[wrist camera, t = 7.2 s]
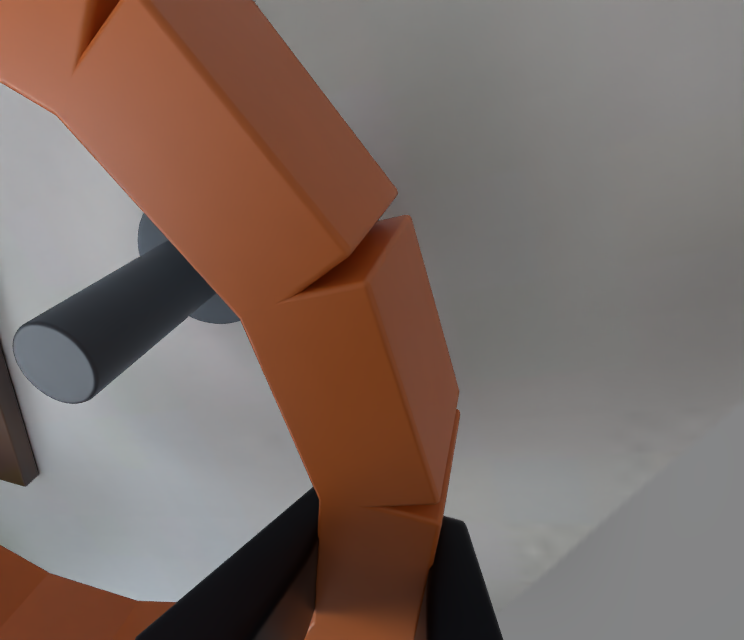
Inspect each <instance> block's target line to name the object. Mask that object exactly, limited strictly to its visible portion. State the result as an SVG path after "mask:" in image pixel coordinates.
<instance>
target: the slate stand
mask: <svg viewBox="0 0 744 640" xmlns="http://www.w3.org/2000/svg"><path fill="white" fill-rule="evenodd" d="M138 249H139V254H140V257H138V258H136V259H135V260H133V261H131V262H130V263H128V264H126V265H124V266H123V267H121V268H119V269H118V270H116V271H114V272H112V273H111V274H109V275H107V276H106V277H104V278H102V279H100V280H99V281H97V282H95V283H94V284H92V285H90V286H88V287H87V288H85V289H83V290H82V291H80V292H78V293H76V294H75V295H73V296H71V297H70V298H68V299H66V300H64V301H63V302H61V303H59V304H58V305H56V306H54V307H52V308H51V309H49V310H47V311H46V312H44V313H42V314H40V315H39V316H37V317H35V318H34V319H32V320H30V321H28V322H27V323H25V324H23V325H22V326H21V327H20V328H19V329H18V330H17V332H16V334H15V336H14V339H13V352H14V356H15V359H16V362H17V364H18V366H19V367H20V369H21V371H22V372H23V374H24V375H25V376H26V378H27V379H28V380H29V381H30V382H31V383H32V384H33V385H34V386H35V387H36V388H37V389H39V390H40V391H41V392H43V393H44V394H46V395H47V396H49V397H51V398H53V399H55V400H58V401H61V402H64V403H71V404H77V403H82V402H86V401H88V400H90V399H91V398H93V397H94V396H95V395H96V394H98V393H99V392H100V391H101V390H102V389H103V388H105V387H106V386H107V385H108V384H109V383H111V382H112V381H113V380H114V379H115V378H116V377H118V376H119V375H120V374H121V373H122V372H124V371H125V370H126V369H127V368H128V367H129V366H131V365H132V364H133V363H134V362H135V361H137V360H138V359H139V358H140V357H141V356H142V355H144V354H145V353H146V352H147V351H148V350H150V349H151V348H152V347H153V346H154V345H155V344H157V343H158V342H159V341H160V340H161V339H162V338H164V337H165V336H166V335H167V334H168V333H170V332H171V331H172V330H173V329H174V328H175V327H177V326H178V325H179V324H180V323H181V322H183V321H184V320H185V319H186V318H187V317H188V316H190V317H192V318H195V319H197V320H200V321H204V322H208V323H214V324H226V323H233V322H237V321H240V318H239V317H238V316H237V315H236V314H235V313H234V312H233V311H232V310H231V309H230V307H229V306H228V305H227V304H226V303H225V302H224V301H223V300H222V299H221V297H220V296H219V295H218V294H217V293H216V292H215V291H214V290H213V289H212V287H211V286H210V285H209V284H208V283H207V282H206V281H205V280H204V279H203V277H202V276H201V275H200V274H199V273H198V272H197V271H196V270H195V269H194V268H193V266H192V265H191V264H190V263H189V262H188V261H187V260H186V259H185V258H184V256H183V255H182V254H181V253H180V252H179V251H178V250H177V249H176V248H175V246H174V245H173V244H172V243H171V242H170V241H169V240H168V239H167V238H166V236H165V235H164V234H163V233H162V232H161V231H160V230H159V229H158V228H157V227H156V225H155V224H154V223H153V222H152V221H151V220H150V219H149V218H148V217H147V215H146V214H145V213H144V214H143V215H142V218H141V221H140V224H139V229H138Z"/></svg>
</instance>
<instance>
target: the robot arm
mask: <svg viewBox="0 0 744 640" xmlns="http://www.w3.org/2000/svg"><path fill="white" fill-rule="evenodd" d="M318 515H319V498H318V496H317V494H316V491H315V489H314V487H312V488H311V489H310V490H309V491H308V492H307V493H305V494H304V495H303V496H302V497H301V498H299V499H298V500H297V501H296V502H295V503H294V504H292V505H291V506H290V507H289V508H288V509H286V510H285V511H284V512H283V513H282V514H281V515H279V516H278V517H277V518H276V519H275V520H273V521H272V522H271V523H270V524H269V525H268V526H266V527H265V528H264V529H263V530H262V531H260V532H259V533H258V534H257V535H256V536H255V537H253V538H252V539H251V540H250V541H249V542H247V543H246V544H245V545H244V546H243V547H242V548H240V549H239V550H238V551H237V552H236V553H234V554H233V555H232V556H231V557H230V558H229V559H227V560H226V561H225V562H224V563H223V564H221V565H220V566H219V567H218V568H217V569H216V570H214V571H213V572H212V573H211V574H210V575H208V576H207V577H206V578H205V579H204V580H203V581H201V582H200V583H199V584H198V585H197V586H195V587H194V588H193V589H192V590H191V591H190V592H188V593H187V594H186V595H185V596H184V597H182V598H181V599H180V600H179V601H178V602H176V603H175V604H174V605H173V606H172V607H171V608H169V609H168V610H167V611H166V612H165V613H163V614H162V615H161V616H160V617H159V618H158V619H156V620H155V621H154V622H153V623H152V624H150V625H149V626H148V627H147V628H146V629H145V630H143V631H142V632H141V633H140V634H139V635H137V636H136V638H135V640H304V639H305V637H306V634H307V631H308V628H309V625H310V622H311V620H312V617H313V613H314V610H315V597H316V580H317V562H318V544H319V538H318ZM414 640H503V638H502V634H501V632H500V628H499V625H498V622H497V619H496V616H495V613H494V610H493V607H492V603H491V600H490V597H489V594H488V591H487V588H486V585H485V582H484V579H483V576H482V573H481V569H480V566H479V563H478V560H477V557H476V554H475V551H474V548H473V545H472V542H471V539H470V535H469V532H468V529H467V526H466V525H465V523H464V522H463V521H461V520H457V519H453V518H450V517H446V516H443V520H442V526H441V530H440V535H439V540H438V544H437V549H436V553H435V558H434V563H433V565H432V566H431V568H430V569H429V573H428V578H427V582H426V587H425V592H424V596H423V601H422V606H421V610H420V615H419V620H418V624H417V629H416V634H415V638H414Z"/></svg>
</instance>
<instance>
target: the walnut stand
mask: <svg viewBox="0 0 744 640" xmlns="http://www.w3.org/2000/svg"><path fill="white" fill-rule="evenodd" d="M38 475H39V473H38V470H37V467H36V463H35V460H34V457H33V453H32V450H31V447H30V443H29V440H28V436H27V433H26V430H25V426H24V423H23V420H22V416H21V413H20V410H19V406H18V403H17V400H16V396H15V393H14V390H13V386H12V383H11V380H10V376H9V373H8V369H7V366H6V363H5V359H4V356H3V353H2V349H1V346H0V480H3V481H7V482H10V483H14V484H18V485H21V486H25V487H26V486H27V485H28V484H29V483H30V482H32V481H33V480H34V479H35V478H36V477H37V476H38Z"/></svg>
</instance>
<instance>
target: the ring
mask: <svg viewBox="0 0 744 640" xmlns="http://www.w3.org/2000/svg"><path fill="white" fill-rule="evenodd" d="M0 82H1V83H2V84H4V85H6V86H7V87H9V88H11V89H13V90H14V91H16V92H18V93H19V94H21V95H23V96H24V97H26V98H28V99H29V100H31V101H33V102H34V103H36V104H38V105H39V106H41V107H43V108H45V109H46V110H48V111H50V112H51V113H53V114H55V115H56V116H57V117H58V118H59V119H60V120H61V121H62V122H63V123H64V125H65V126H66V127H67V128H68V129H69V130H70V131H71V132H72V133H73V135H74V136H75V137H76V138H77V139H78V140H79V141H80V142H81V143H82V145H83V146H84V147H85V148H86V149H87V150H88V151H89V152H90V153H91V154H92V156H93V157H94V158H95V159H96V160H97V161H98V162H99V163H100V164H101V166H102V167H103V168H104V169H105V170H106V171H107V172H108V173H109V174H110V176H111V177H112V178H113V179H114V180H115V181H116V182H117V183H118V184H119V186H120V187H121V188H122V189H123V190H124V191H125V192H126V193H127V194H128V195H129V197H130V198H131V199H132V200H133V201H134V202H135V203H136V204H137V205H138V207H139V208H140V209H141V210H142V211H143V212H144V213H145V214H146V215H147V217H148V218H149V219H150V220H151V221H152V222H153V223H154V224H155V225H156V227H157V228H158V229H159V230H160V231H161V232H162V233H163V234H164V235H165V236H166V238H167V239H168V240H169V241H170V242H171V243H172V244H173V245H174V246H175V248H176V249H177V250H178V251H179V252H180V253H181V254H182V255H183V256H184V258H185V259H186V260H187V261H188V262H189V263H190V264H191V265H192V266H193V268H194V269H195V270H196V271H197V272H198V273H199V274H200V275H201V276H202V277H203V279H204V280H205V281H206V282H207V283H208V284H209V285H210V286H211V287H212V289H213V290H214V291H215V292H216V293H217V294H218V295H219V296H220V297H221V299H222V300H223V301H224V302H225V303H226V304H227V305H228V306H229V307H230V309H231V310H232V311H233V312H234V313H235V314H236V315H237V316H238V317H239V318H240V320H241V323H242V325H243V327H244V329H245V332H246V334H247V336H248V339H249V341H250V343H251V345H252V348H253V350H254V352H255V355H256V357H257V359H258V361H259V364H260V366H261V368H262V371H263V373H264V375H265V377H266V380H267V382H268V384H269V386H270V389H271V391H272V393H273V396H274V398H275V400H276V402H277V405H278V407H279V409H280V412H281V414H282V416H283V418H284V421H285V423H286V425H287V427H288V430H289V432H290V434H291V437H292V439H293V441H294V443H295V446H296V448H297V450H298V453H299V455H300V457H301V459H302V462H303V464H304V466H305V468H306V471H307V473H308V475H309V478H310V480H311V482H312V484H313V487H314V489H315V491H316V494H317V496H318V498H319V515H318V538H319V544H318V562H317V580H316V597H315V610H314V613H313V617H312V620H311V622H310V625H309V628H308V631H307V634H306V637H305V639H304V640H414V638H415V634H416V629H417V624H418V620H419V615H420V610H421V606H422V601H423V596H424V592H425V587H426V582H427V578H428V573H429V569H430V568H431V566H432V565H433V563H434V558H435V553H436V549H437V544H438V540H439V535H440V530H441V526H442V520H443V514H444V508H445V502H446V497H447V491H448V485H449V479H450V473H451V467H452V461H453V455H454V449H455V443H456V437H457V431H458V425H459V419H460V412H459V410H458V409H456V408H457V402H458V397H459V388H458V385H457V381H456V377H455V374H454V370H453V366H452V363H451V359H450V356H449V352H448V348H447V345H446V341H445V337H444V334H443V330H442V327H441V323H440V319H439V316H438V312H437V309H436V305H435V301H434V298H433V294H432V290H431V287H430V283H429V280H428V276H427V272H426V269H425V265H424V261H423V258H422V254H421V251H420V247H419V243H418V240H417V236H416V233H415V229H414V225H413V222H412V218H411V217H410V216H409V215H402V216H398V217H393V218H389V219H385V220H381V221H378V220H379V218H380V217H381V216H382V214H383V213H384V212H385V211H386V209H387V208H388V207H389V206H390V204H391V203H392V202H393V200H394V199H395V198H396V196H397V195H398V192H397V189H396V188H395V186H394V185H393V184H392V182H391V181H390V180H389V178H388V177H387V176H386V174H385V173H384V172H383V171H382V169H381V168H380V167H379V165H378V164H377V163H376V161H375V160H374V159H373V157H372V156H371V155H370V153H369V152H368V151H367V150H366V148H365V147H364V146H363V144H362V143H361V142H360V140H359V139H358V138H357V136H356V135H355V134H354V132H353V131H352V130H351V128H350V127H349V126H348V125H347V123H346V122H345V121H344V119H343V118H342V117H341V115H340V114H339V113H338V111H337V110H336V109H335V107H334V106H333V105H332V104H331V102H330V101H329V100H328V98H327V97H326V96H325V94H324V93H323V92H322V90H321V89H320V88H319V86H318V85H317V84H316V83H315V81H314V80H313V79H312V77H311V76H310V75H309V73H308V72H307V71H306V69H305V68H304V67H303V65H302V64H301V63H300V62H299V60H298V59H297V58H296V56H295V55H294V54H293V52H292V51H291V50H290V48H289V47H288V46H287V44H286V43H285V42H284V40H283V39H282V38H281V37H280V35H279V34H278V33H277V31H276V30H275V29H274V27H273V26H272V25H271V23H270V22H269V21H268V19H267V18H266V17H265V16H264V14H263V13H262V12H261V10H260V9H259V8H258V6H257V5H256V4H255V2H254V1H252V0H0ZM175 603H176V602H154V601H136V600H133V599H130V598H127V597H124V596H120V595H117V594H114V593H111V592H108V591H105V590H101V589H98V588H95V587H92V586H89V585H86V584H82V583H79V582H76V581H73V580H70V579H67V578H63V577H60V576H57V575H54V574H51V573H49V572H47V571H45V570H44V569H42V568H40V567H38V566H36V565H35V564H33V563H31V562H29V561H28V560H26V559H24V558H22V557H21V556H19V555H17V554H15V553H14V552H12V551H10V550H8V549H6V548H5V547H3V546H1V545H0V640H135V638H136V636H137V635H139V634H140V633H141V632H142V631H143V630H145V629H146V628H147V627H148V626H149V625H150V624H152V623H153V622H154V621H155V620H156V619H158V618H159V617H160V616H161V615H162V614H163V613H165V612H166V611H167V610H168V609H169V608H171V607H172V606H173V605H174V604H175Z"/></svg>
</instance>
